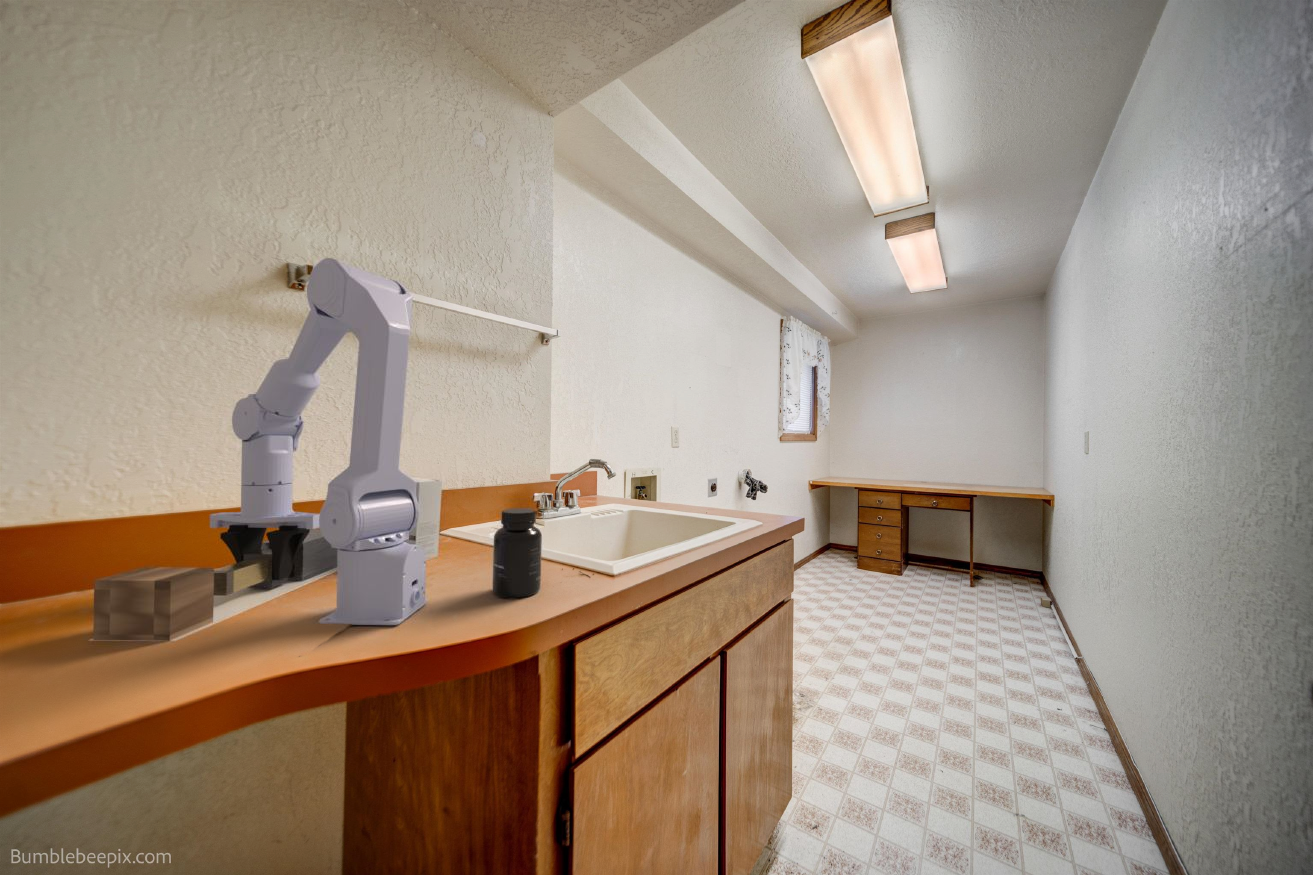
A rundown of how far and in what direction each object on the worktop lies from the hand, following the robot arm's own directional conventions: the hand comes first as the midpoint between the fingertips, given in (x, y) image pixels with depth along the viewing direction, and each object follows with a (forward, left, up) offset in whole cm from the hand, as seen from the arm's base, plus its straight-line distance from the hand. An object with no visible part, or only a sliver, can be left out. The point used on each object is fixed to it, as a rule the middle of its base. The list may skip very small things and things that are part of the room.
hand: (266, 577), depth 67 cm
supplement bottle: (-36, 0, -2) cm, 36 cm away
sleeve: (0, -8, -1) cm, 8 cm away
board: (0, +2, -2) cm, 3 cm away
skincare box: (-12, -17, -2) cm, 21 cm away
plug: (0, -1, -1) cm, 2 cm away
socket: (0, +15, -1) cm, 15 cm away
